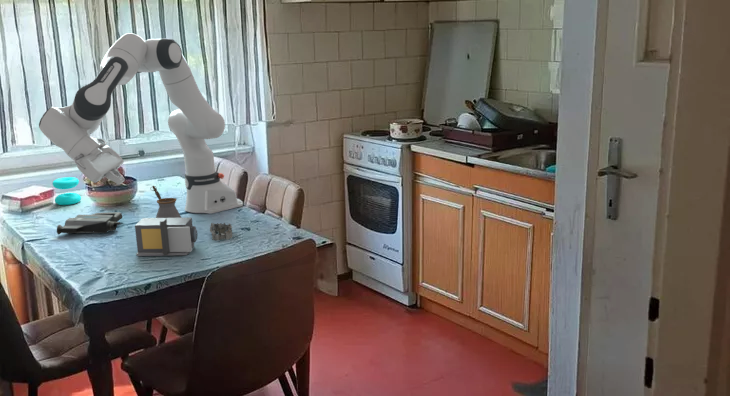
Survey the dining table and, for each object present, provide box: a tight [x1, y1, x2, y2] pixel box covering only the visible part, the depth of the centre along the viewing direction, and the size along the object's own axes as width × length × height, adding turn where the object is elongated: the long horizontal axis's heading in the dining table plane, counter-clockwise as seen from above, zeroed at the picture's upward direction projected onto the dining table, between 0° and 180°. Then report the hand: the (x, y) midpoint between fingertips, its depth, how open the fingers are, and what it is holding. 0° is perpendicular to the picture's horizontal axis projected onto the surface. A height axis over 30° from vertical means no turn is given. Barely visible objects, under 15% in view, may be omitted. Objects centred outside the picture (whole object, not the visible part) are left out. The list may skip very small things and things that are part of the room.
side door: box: [160, 219, 193, 256], centre depth 220 cm, size 8×4×11 cm, turn 89°
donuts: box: [51, 176, 82, 206], centre depth 289 cm, size 10×10×10 cm
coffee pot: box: [150, 185, 183, 218], centre depth 246 cm, size 21×12×15 cm, turn 32°
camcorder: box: [56, 211, 123, 235], centre depth 253 cm, size 16×20×5 cm
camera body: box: [134, 217, 198, 257], centre depth 227 cm, size 18×10×10 cm, turn 89°
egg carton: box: [209, 222, 233, 241], centre depth 243 cm, size 11×8×4 cm
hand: (122, 182), depth 216 cm, fingers closed
